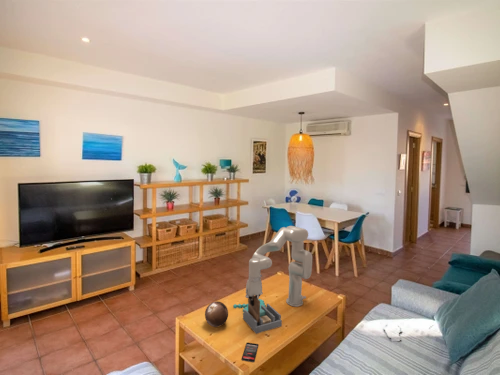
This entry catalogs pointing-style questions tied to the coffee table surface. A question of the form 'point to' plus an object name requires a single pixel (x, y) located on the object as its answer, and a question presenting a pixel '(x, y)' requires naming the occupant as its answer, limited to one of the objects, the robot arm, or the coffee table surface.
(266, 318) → the offcut beech
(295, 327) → the coffee table surface
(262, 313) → the offcut teal
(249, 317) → the rack
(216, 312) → the wooden sphere
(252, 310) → the brown block
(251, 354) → the smartphone
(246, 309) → the alien figure
